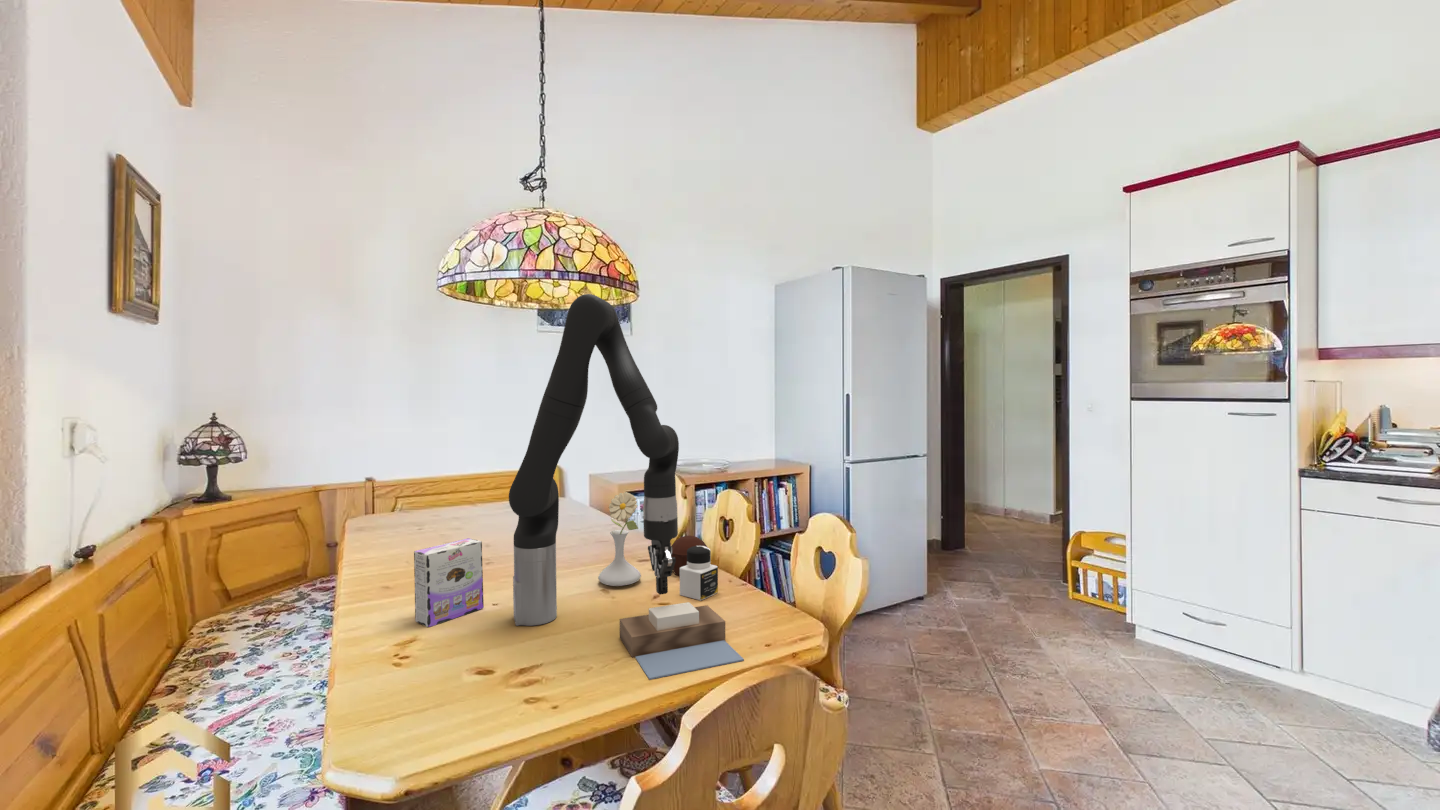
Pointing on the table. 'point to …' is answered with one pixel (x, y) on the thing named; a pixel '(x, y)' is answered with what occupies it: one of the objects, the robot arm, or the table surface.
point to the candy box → (448, 581)
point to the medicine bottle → (698, 574)
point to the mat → (687, 659)
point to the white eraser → (673, 616)
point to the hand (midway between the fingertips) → (662, 593)
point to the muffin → (683, 550)
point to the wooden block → (670, 633)
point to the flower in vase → (621, 543)
